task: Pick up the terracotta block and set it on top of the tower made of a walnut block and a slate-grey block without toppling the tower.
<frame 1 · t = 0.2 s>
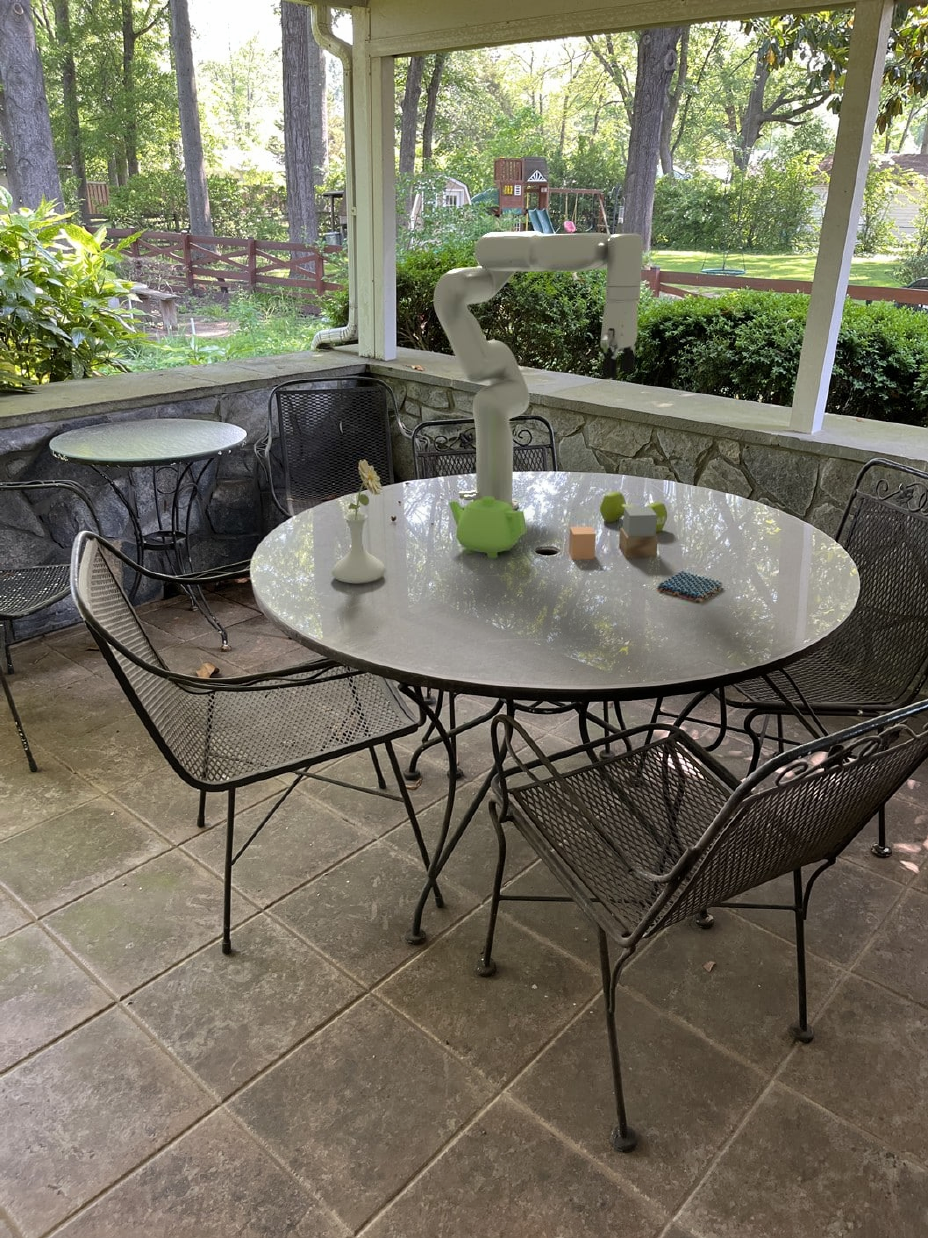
hand: (618, 374, 199), 37 cm above the table, tool pointing down, fingers open, 9 cm apart
terracotta block: (581, 555, 197), on the table
flower in vase: (361, 577, 186), on the table
teapot: (487, 550, 201), on the table
dumbbell: (632, 526, 215), on the table
tower base: (637, 553, 198), on the table
tower top: (638, 532, 196), point 5 cm above the table
woven mat: (689, 592, 179), on the table
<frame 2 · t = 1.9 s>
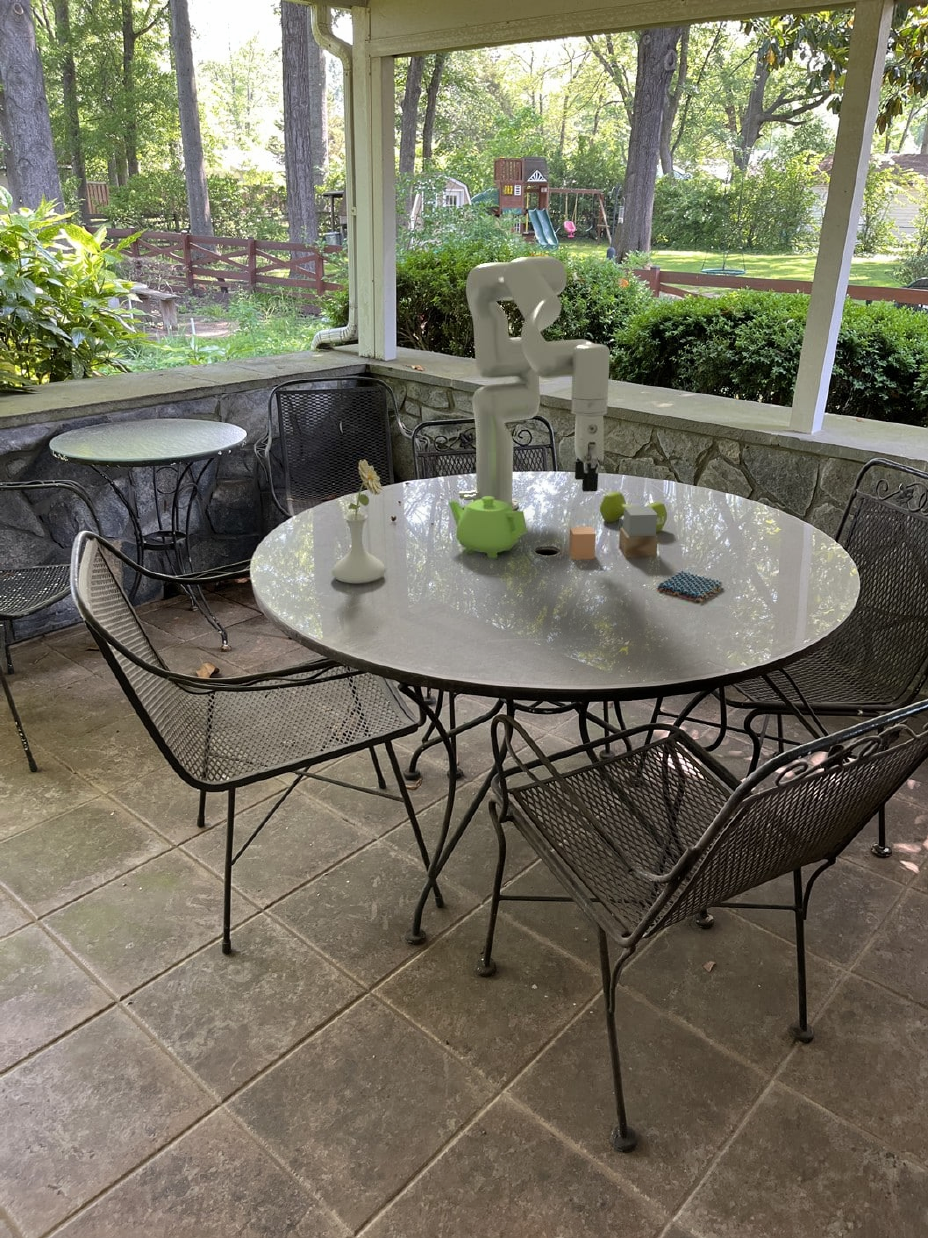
hand: (585, 485, 189), 16 cm above the table, tool pointing down, fingers open, 9 cm apart
tower base: (637, 552, 198), on the table, touching tower top
tower top: (639, 531, 196), point 5 cm above the table, touching tower base
everything else where it was.
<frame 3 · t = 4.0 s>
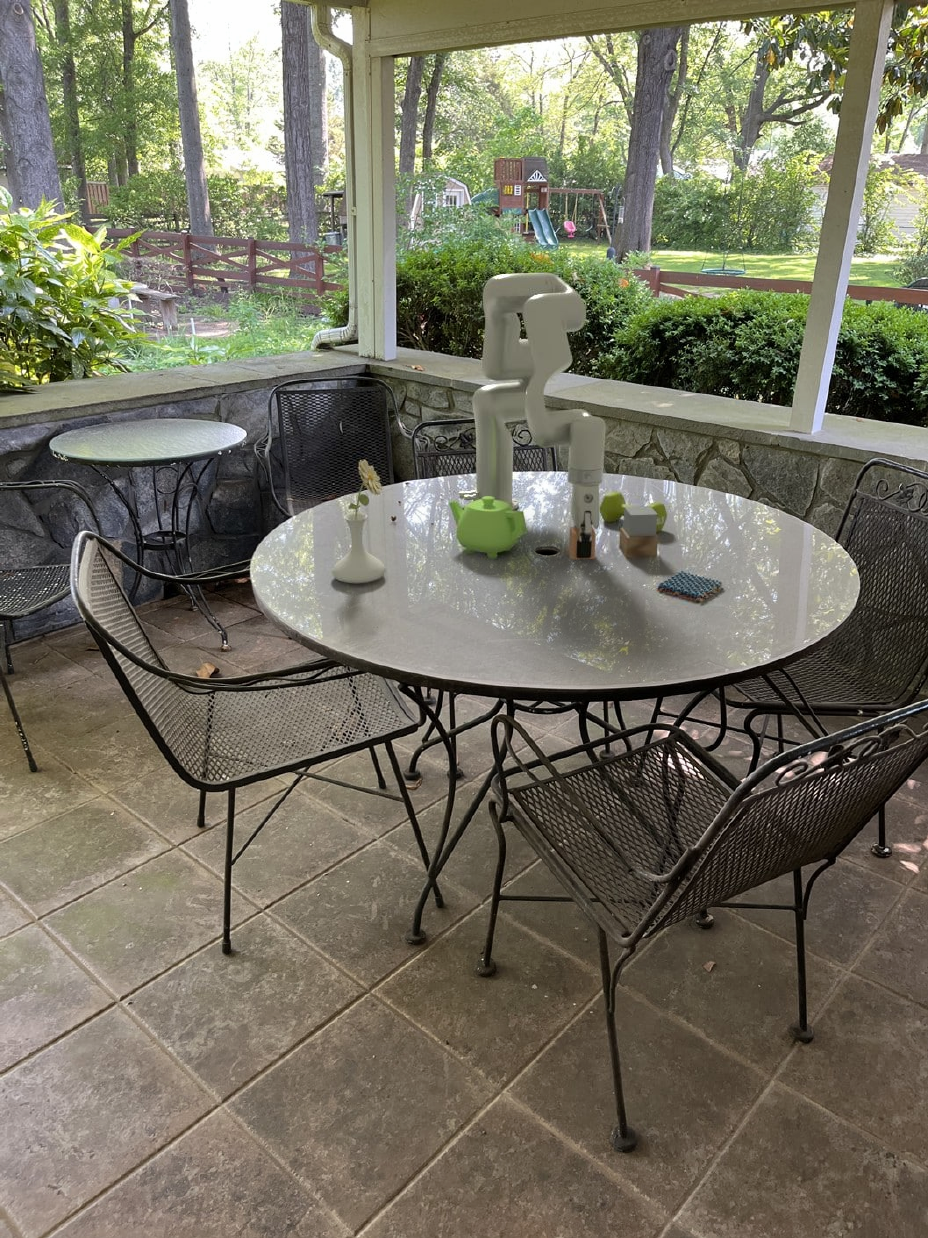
hand: (581, 552, 196), 1 cm above the table, tool pointing down, fingers closed on terracotta block, 5 cm apart
terracotta block: (581, 555, 197), on the table, touching gripper
tower base: (637, 552, 198), on the table
tower top: (639, 531, 196), point 5 cm above the table
everything else where it was.
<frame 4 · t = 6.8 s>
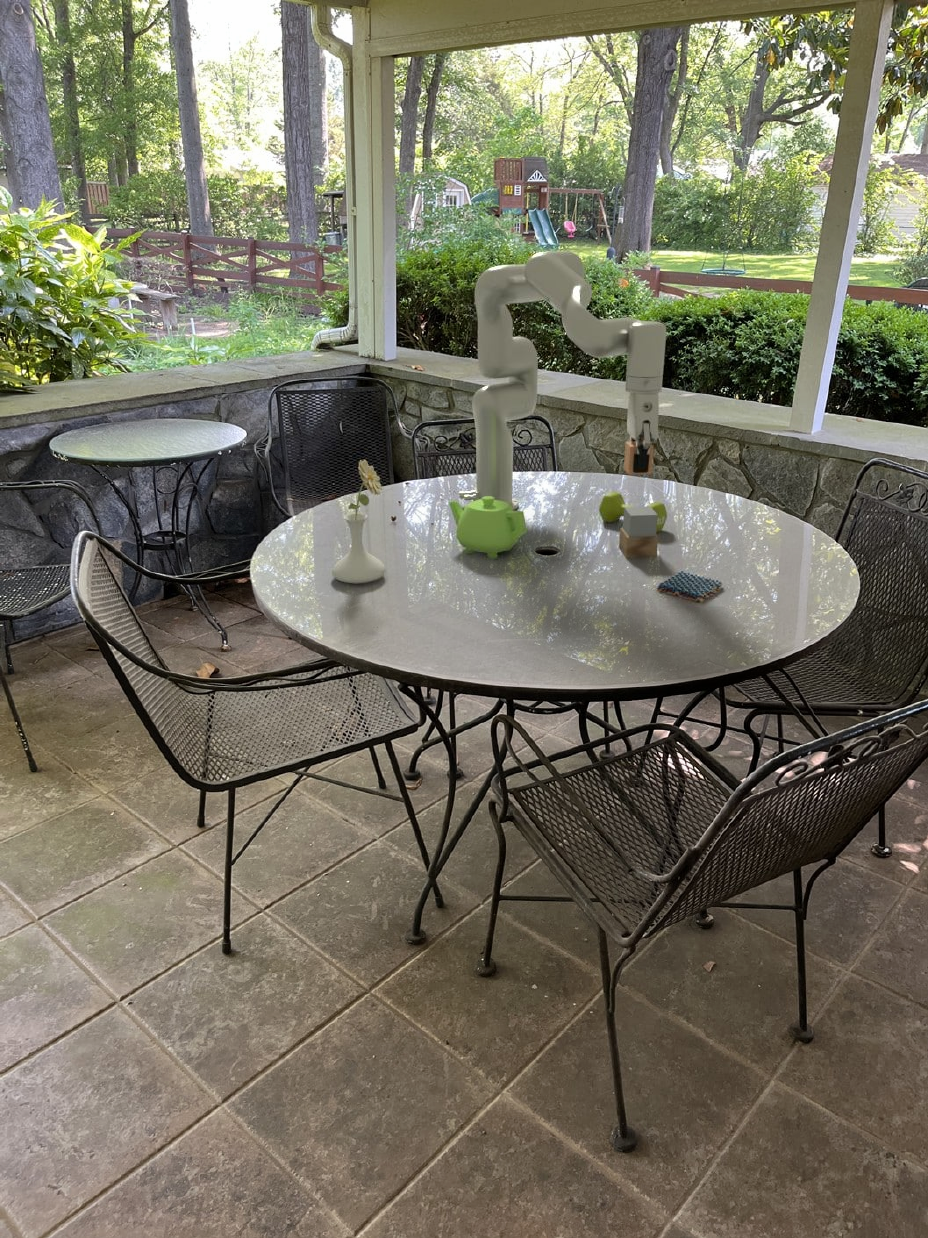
hand: (637, 467, 189), 20 cm above the table, tool pointing down, fingers closed on terracotta block, 4 cm apart
terracotta block: (637, 471, 190), point 19 cm above the table, touching gripper
tower base: (637, 552, 198), on the table, touching tower top
tower top: (639, 532, 196), point 5 cm above the table, touching tower base
everything else where it was.
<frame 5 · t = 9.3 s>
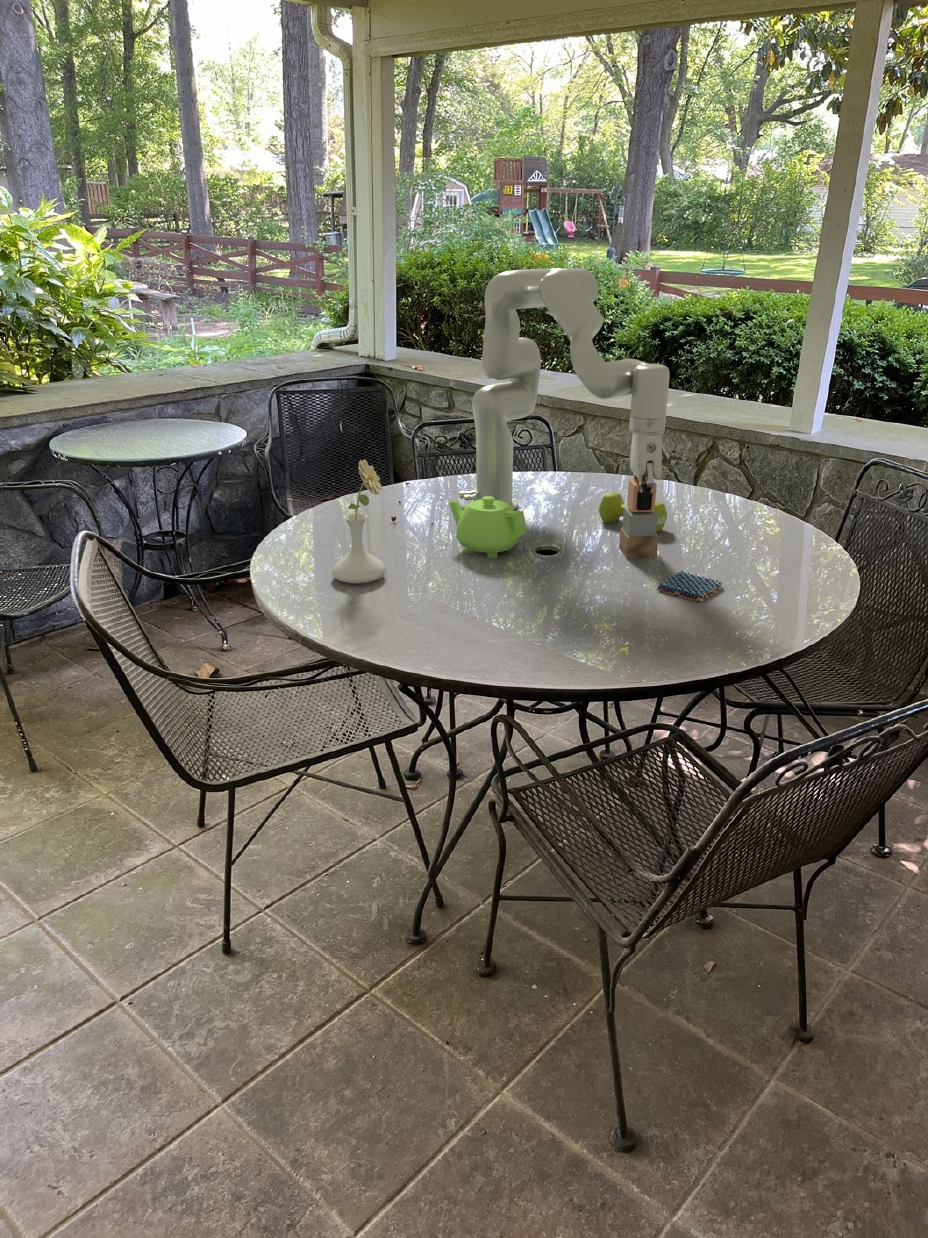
hand: (640, 505, 193), 11 cm above the table, tool pointing down, fingers closed on terracotta block, 4 cm apart
terracotta block: (640, 508, 194), point 10 cm above the table, touching gripper
everything else where it was.
when the fingers open (11 cm above the table, at t = 9.7 s): terracotta block stays where it is, resting on tower top.
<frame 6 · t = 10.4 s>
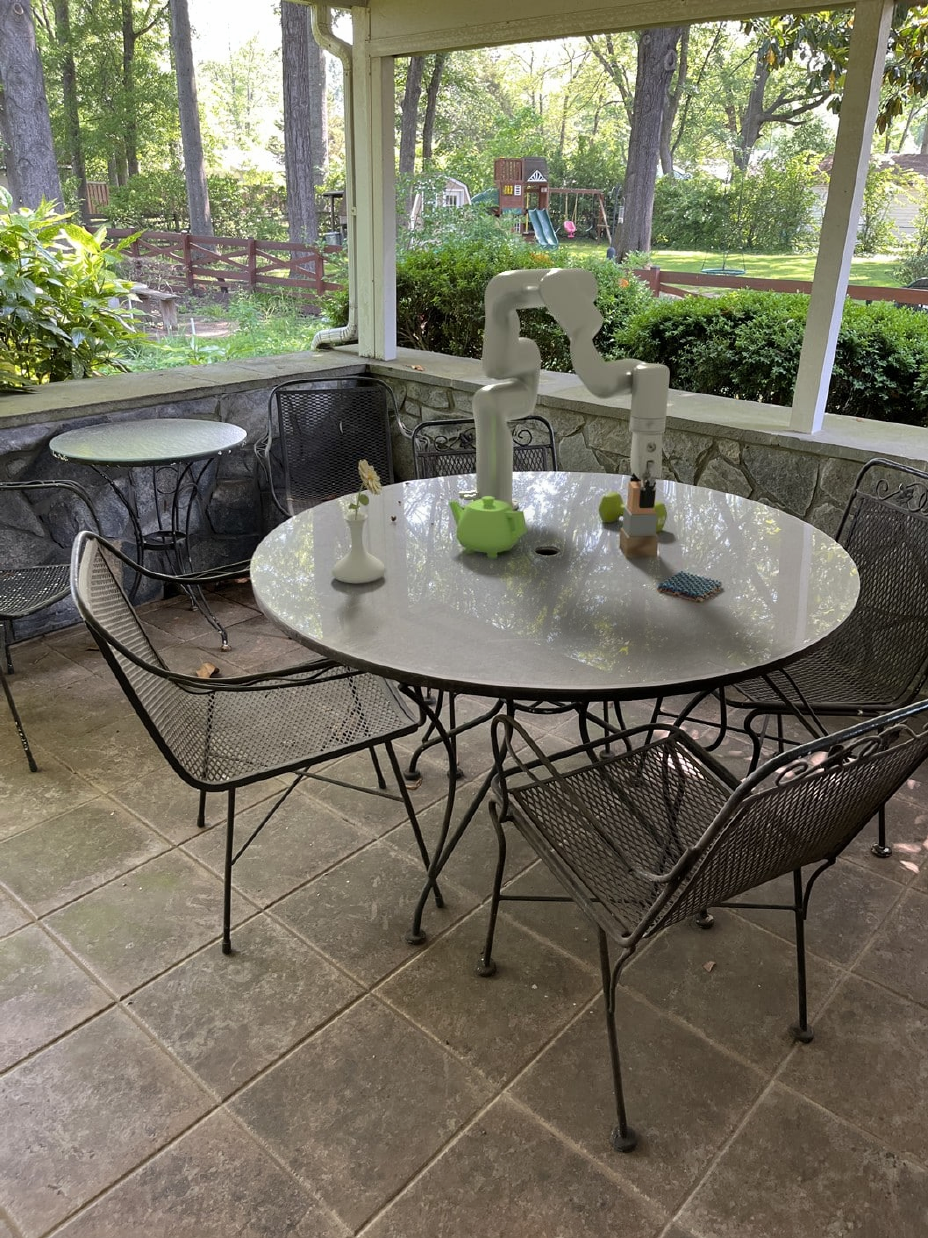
hand: (641, 501, 193), 12 cm above the table, tool pointing down, fingers open, 9 cm apart
terracotta block: (640, 510, 194), point 10 cm above the table, touching tower top
tower top: (638, 531, 196), point 5 cm above the table, touching terracotta block, tower base
everything else where it was.
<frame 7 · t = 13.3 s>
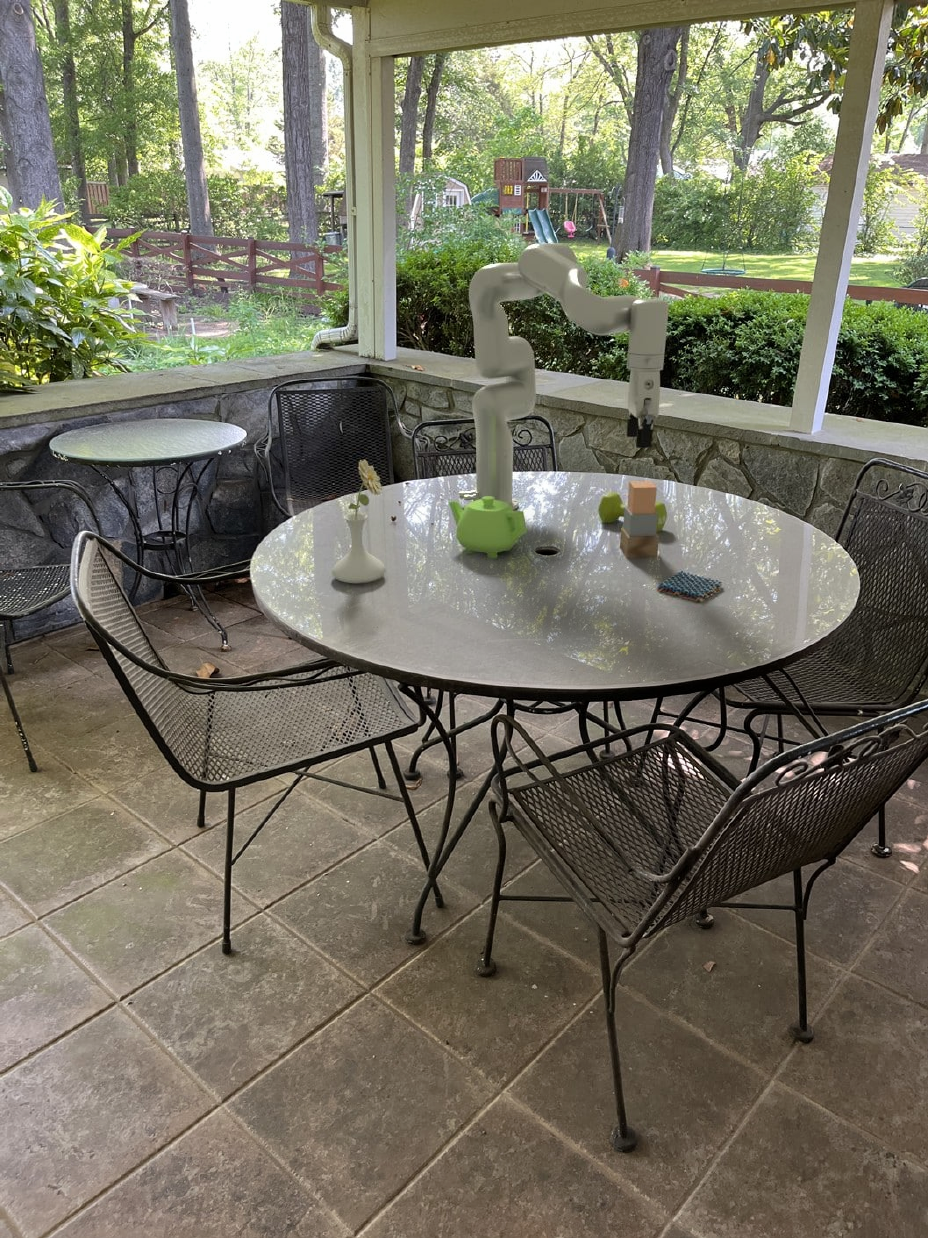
hand: (638, 441, 190), 25 cm above the table, tool pointing down, fingers open, 9 cm apart
nothing on the table moved.
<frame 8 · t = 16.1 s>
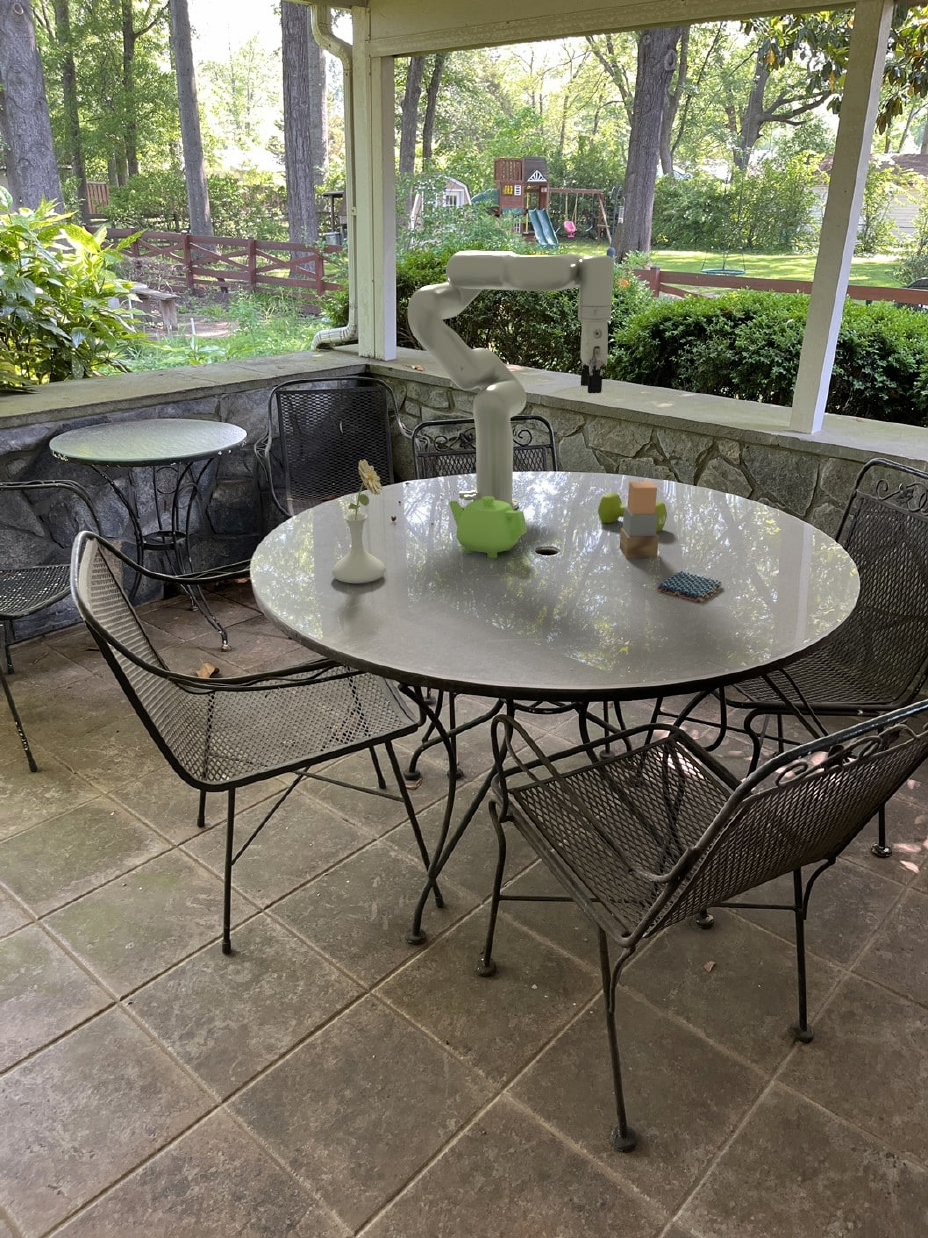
hand: (590, 389, 207), 32 cm above the table, tool pointing down, fingers open, 9 cm apart
nothing on the table moved.
at the end: terracotta block 0.1 cm off-centre on the tower top, point 5.0 cm above the tower top's base; tower top 0.3 cm off-centre on the tower base, point 5.0 cm above the tower base's base; the gripper is holding nothing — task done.
